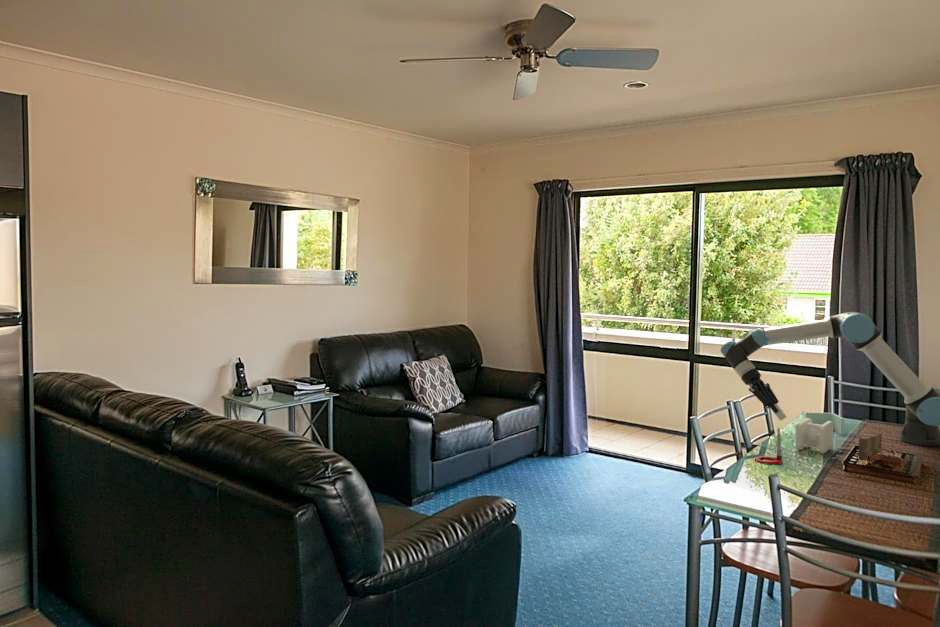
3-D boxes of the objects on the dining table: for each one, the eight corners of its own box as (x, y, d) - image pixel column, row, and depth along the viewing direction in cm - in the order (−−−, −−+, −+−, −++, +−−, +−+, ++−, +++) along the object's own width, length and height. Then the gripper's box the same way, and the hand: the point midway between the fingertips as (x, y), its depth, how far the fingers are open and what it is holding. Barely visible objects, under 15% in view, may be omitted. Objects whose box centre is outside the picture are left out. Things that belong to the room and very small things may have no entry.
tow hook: (756, 464, 254) (783, 465, 251) (755, 430, 253) (782, 430, 251) (753, 458, 262) (779, 459, 259) (752, 425, 261) (779, 425, 259)
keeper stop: (845, 452, 270) (846, 427, 269) (880, 460, 260) (881, 433, 259) (827, 458, 262) (828, 432, 261) (863, 466, 251) (865, 439, 250)
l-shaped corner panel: (804, 428, 312) (805, 412, 312) (832, 429, 311) (833, 413, 310) (814, 434, 300) (815, 417, 300) (843, 435, 299) (844, 418, 298)
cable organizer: (822, 456, 264) (823, 426, 263) (793, 451, 271) (794, 422, 270) (833, 448, 275) (834, 420, 274) (804, 444, 282) (806, 416, 281)
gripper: (750, 376, 300) (785, 421, 288) (733, 379, 293) (768, 425, 280) (762, 366, 296) (798, 411, 284) (745, 368, 288) (781, 415, 276)
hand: (783, 418), depth 282 cm, fingers closed
